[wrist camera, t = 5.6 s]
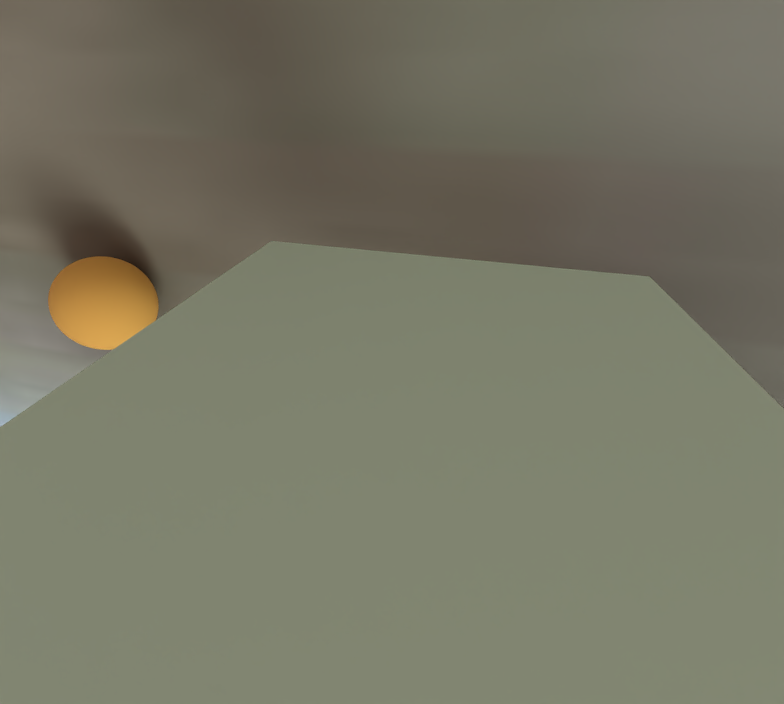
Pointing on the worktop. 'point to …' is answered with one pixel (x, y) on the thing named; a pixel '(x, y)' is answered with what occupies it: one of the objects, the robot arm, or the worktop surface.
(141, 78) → the worktop surface
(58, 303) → the ball
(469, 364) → the pale green cube
